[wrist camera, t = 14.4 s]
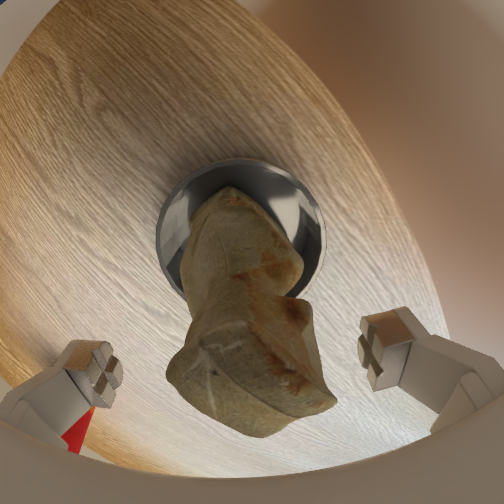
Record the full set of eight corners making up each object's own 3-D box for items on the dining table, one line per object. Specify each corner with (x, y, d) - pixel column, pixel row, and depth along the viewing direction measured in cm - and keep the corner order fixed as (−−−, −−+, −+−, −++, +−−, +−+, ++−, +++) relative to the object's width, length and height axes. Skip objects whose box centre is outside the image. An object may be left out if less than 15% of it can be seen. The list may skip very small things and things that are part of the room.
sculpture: (241, 284, 22) (232, 461, 8) (184, 213, 20) (72, 345, 6) (302, 245, 21) (379, 406, 7) (248, 166, 19) (246, 217, 5)
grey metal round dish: (162, 170, 19) (139, 177, 15) (304, 149, 19) (319, 150, 14) (189, 295, 23) (178, 326, 19) (314, 280, 23) (327, 309, 18)
